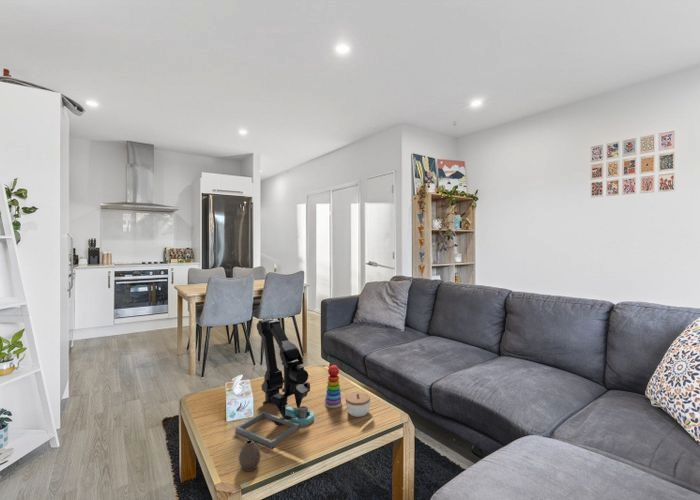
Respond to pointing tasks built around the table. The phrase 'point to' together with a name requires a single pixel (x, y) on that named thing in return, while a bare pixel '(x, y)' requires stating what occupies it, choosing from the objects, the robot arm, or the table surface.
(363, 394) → the lidded jar
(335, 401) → the stacking toy
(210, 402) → the table surface
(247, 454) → the vase
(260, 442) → the tray
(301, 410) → the ring
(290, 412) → the ring
